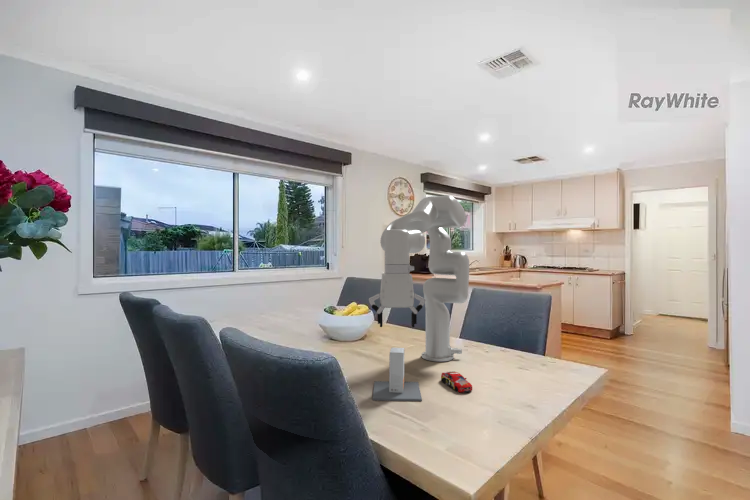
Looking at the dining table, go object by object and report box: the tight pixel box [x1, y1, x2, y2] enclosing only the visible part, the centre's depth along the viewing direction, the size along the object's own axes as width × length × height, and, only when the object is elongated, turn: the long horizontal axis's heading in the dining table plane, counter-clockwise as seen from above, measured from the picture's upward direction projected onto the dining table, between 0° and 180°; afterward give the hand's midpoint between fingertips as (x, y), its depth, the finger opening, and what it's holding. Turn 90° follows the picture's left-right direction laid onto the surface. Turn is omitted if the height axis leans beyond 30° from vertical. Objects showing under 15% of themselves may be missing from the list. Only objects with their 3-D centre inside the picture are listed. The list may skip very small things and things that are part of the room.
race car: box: [440, 371, 473, 393], centre depth 121 cm, size 13×5×4 cm, turn 18°
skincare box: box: [388, 347, 405, 393], centre depth 116 cm, size 6×4×12 cm
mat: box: [372, 380, 423, 402], centre depth 116 cm, size 14×14×1 cm
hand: (397, 326), depth 116 cm, fingers open, 9 cm apart
